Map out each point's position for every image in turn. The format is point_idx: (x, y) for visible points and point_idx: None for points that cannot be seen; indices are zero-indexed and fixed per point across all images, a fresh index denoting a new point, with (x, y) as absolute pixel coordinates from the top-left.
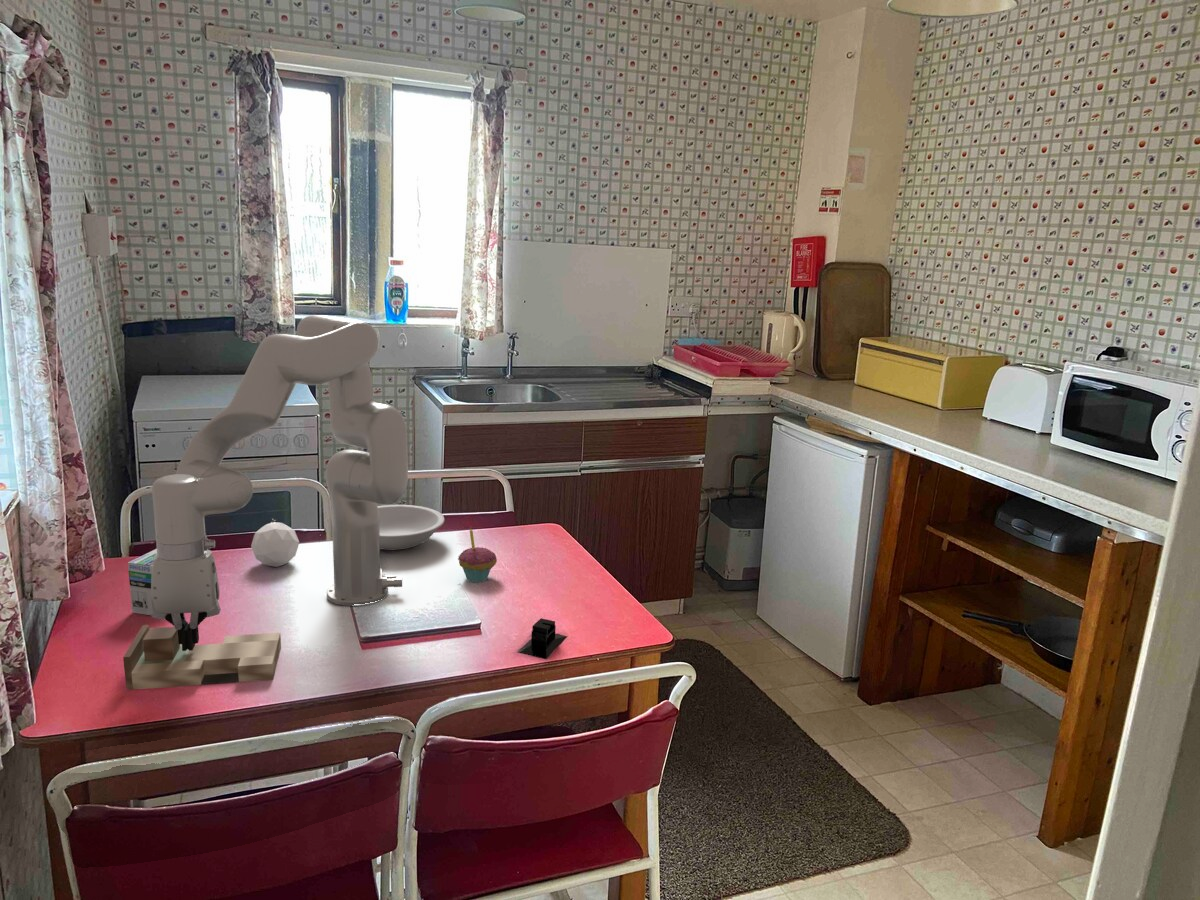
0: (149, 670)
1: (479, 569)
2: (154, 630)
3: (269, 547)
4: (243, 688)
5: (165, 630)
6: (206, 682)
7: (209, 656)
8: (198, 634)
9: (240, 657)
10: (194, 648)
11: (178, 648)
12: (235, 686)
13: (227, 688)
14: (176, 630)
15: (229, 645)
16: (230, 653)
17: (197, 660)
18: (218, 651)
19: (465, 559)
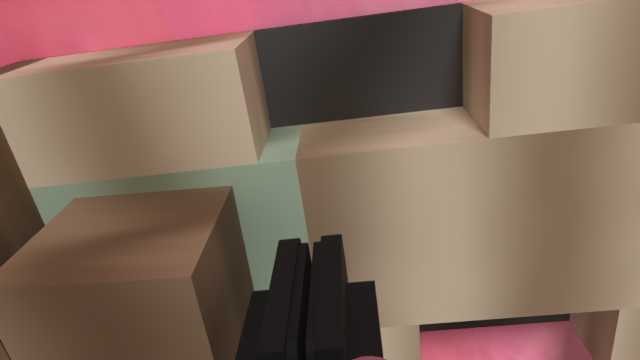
0: None
1: None
2: (38, 330)
3: None
4: (588, 356)
5: (123, 332)
6: (432, 325)
7: (443, 292)
8: (377, 307)
9: (618, 306)
10: (326, 199)
11: (237, 225)
12: (554, 342)
13: (523, 353)
14: (205, 324)
15: (542, 168)
16: (558, 264)
17: (388, 326)
18: (483, 240)
19: None
